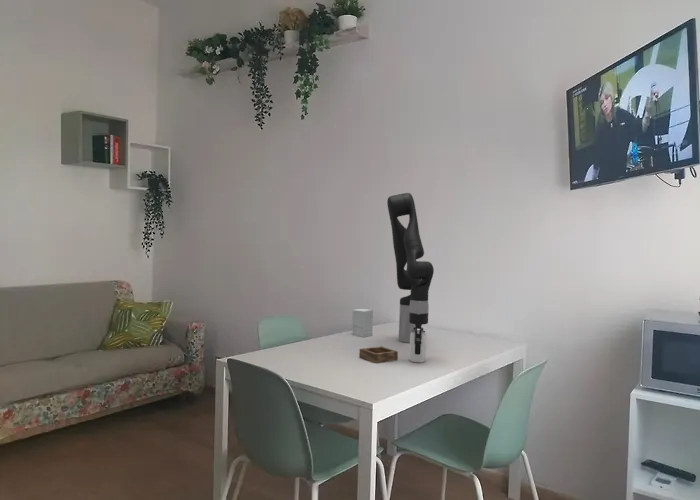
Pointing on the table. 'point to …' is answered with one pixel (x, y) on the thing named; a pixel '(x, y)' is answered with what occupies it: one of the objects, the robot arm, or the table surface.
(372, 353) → the tray
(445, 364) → the table surface
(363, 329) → the supplement box
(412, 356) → the can
